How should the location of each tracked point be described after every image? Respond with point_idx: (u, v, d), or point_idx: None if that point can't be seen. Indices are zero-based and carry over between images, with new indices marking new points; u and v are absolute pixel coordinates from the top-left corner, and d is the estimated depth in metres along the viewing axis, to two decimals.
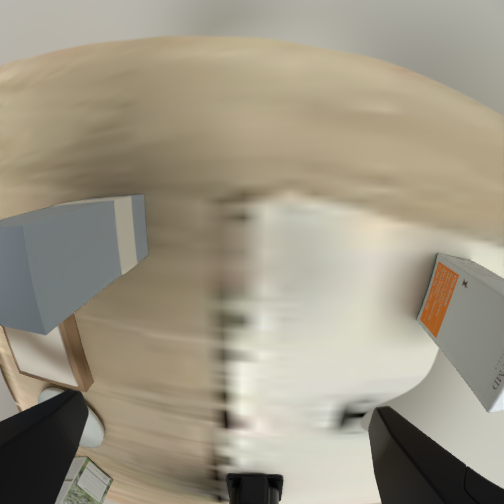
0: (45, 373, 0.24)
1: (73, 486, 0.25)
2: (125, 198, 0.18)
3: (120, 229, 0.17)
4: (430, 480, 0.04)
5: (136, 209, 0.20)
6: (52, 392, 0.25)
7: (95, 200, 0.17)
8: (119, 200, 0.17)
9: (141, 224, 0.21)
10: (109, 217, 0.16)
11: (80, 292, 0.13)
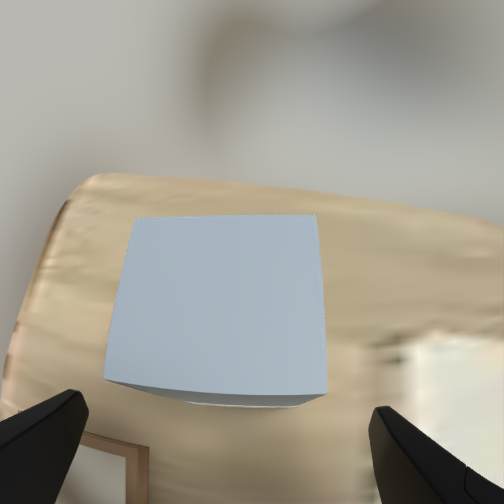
0: None
1: None
2: None
3: None
4: (430, 480, 0.04)
5: None
6: None
7: None
8: None
9: None
10: None
11: None
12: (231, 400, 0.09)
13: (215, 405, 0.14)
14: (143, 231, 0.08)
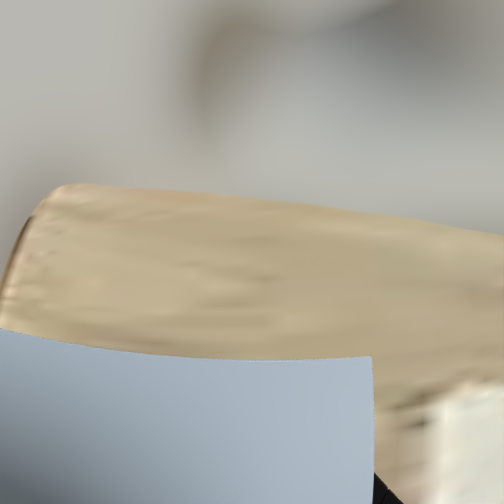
0: None
1: None
2: None
3: None
4: None
5: None
6: None
7: None
8: None
9: None
10: None
11: None
12: None
13: None
14: (5, 362, 0.03)
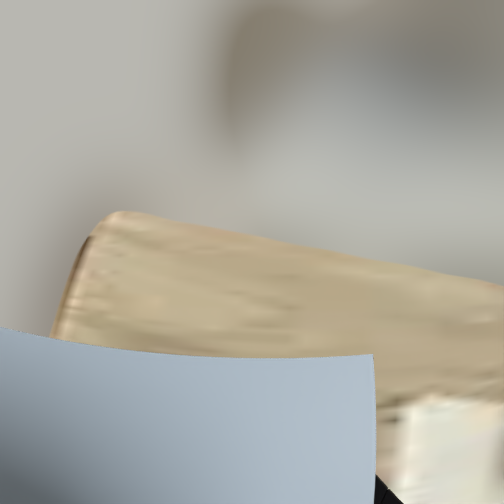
0: None
1: None
2: None
3: None
4: None
5: None
6: None
7: None
8: None
9: None
10: None
11: None
12: None
13: None
14: (6, 360, 0.03)
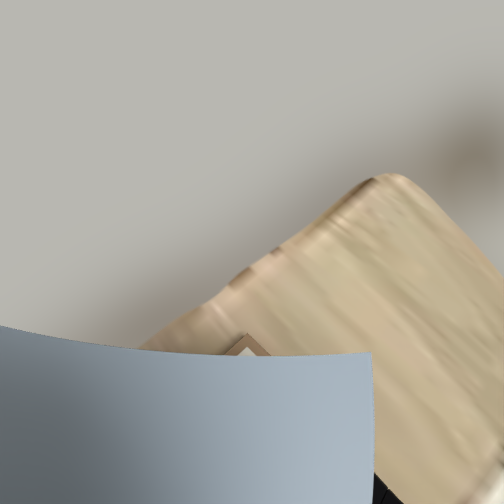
0: None
1: None
2: None
3: None
4: None
5: None
6: None
7: None
8: None
9: None
10: None
11: None
12: None
13: None
14: (6, 359, 0.03)
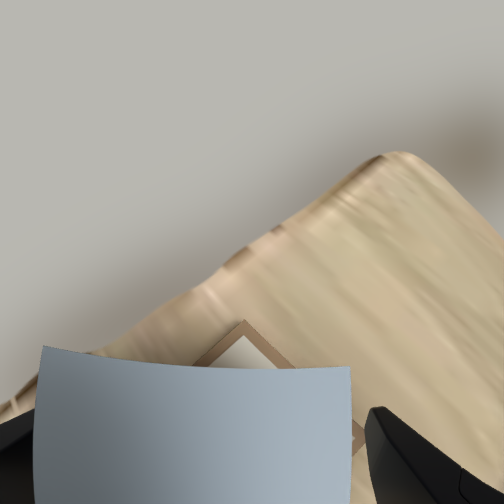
0: None
1: None
2: None
3: None
4: (424, 482, 0.04)
5: None
6: None
7: None
8: None
9: None
10: None
11: None
12: None
13: None
14: (53, 374, 0.04)
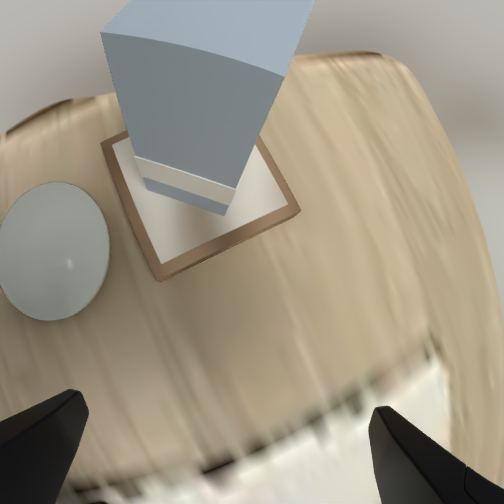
0: (144, 197, 0.18)
1: None
2: None
3: None
4: (430, 480, 0.04)
5: None
6: (98, 212, 0.17)
7: None
8: None
9: None
10: None
11: None
12: (187, 116, 0.09)
13: (159, 172, 0.14)
14: None
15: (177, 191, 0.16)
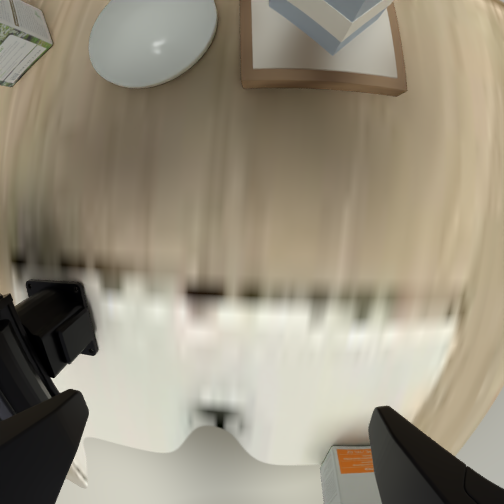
0: (263, 10, 0.14)
1: (6, 29, 0.11)
2: None
3: (383, 2, 0.10)
4: (430, 480, 0.04)
5: (375, 16, 0.12)
6: (213, 9, 0.14)
7: None
8: None
9: (361, 29, 0.13)
10: None
11: None
12: None
13: None
14: None
15: (296, 13, 0.13)
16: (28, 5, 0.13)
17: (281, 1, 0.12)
